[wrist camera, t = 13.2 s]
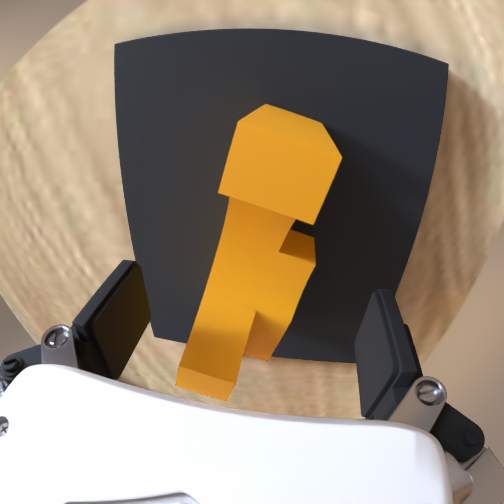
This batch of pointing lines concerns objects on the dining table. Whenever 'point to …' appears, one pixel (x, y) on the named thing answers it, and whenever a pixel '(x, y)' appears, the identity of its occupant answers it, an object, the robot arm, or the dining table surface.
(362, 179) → the mat
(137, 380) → the dining table surface
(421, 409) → the robot arm
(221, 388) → the pipe clamp
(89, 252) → the dining table surface
